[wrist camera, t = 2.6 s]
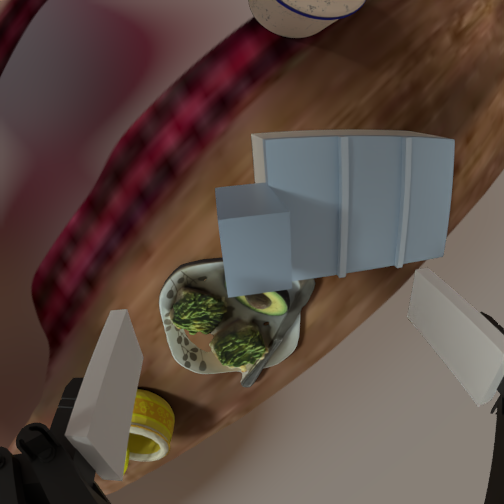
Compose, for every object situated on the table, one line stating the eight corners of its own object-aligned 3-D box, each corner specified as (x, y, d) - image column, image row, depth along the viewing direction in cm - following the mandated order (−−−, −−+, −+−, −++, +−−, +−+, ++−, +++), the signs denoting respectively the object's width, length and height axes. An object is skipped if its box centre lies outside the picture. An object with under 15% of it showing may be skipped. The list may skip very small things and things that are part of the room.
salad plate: (301, 371, 44) (309, 394, 40) (177, 382, 42) (176, 406, 38) (312, 248, 37) (326, 266, 32) (153, 258, 35) (146, 278, 30)
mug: (156, 376, 41) (148, 447, 30) (185, 420, 46) (185, 483, 35) (83, 388, 41) (65, 450, 30) (118, 429, 46) (109, 487, 35)
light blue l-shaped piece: (210, 143, 24) (210, 156, 16) (441, 136, 26) (506, 152, 18) (226, 278, 29) (234, 341, 21) (432, 248, 31) (483, 288, 23)
